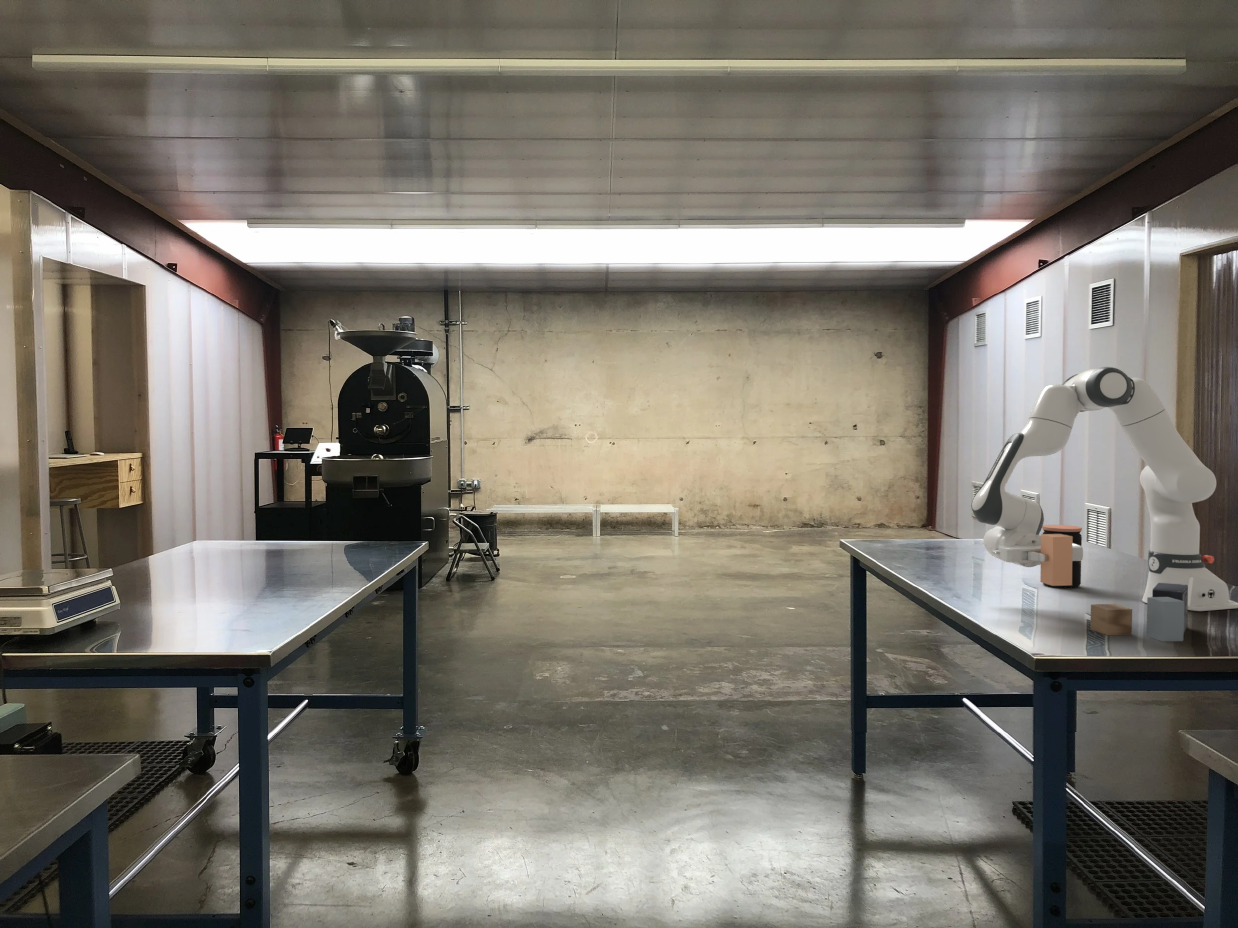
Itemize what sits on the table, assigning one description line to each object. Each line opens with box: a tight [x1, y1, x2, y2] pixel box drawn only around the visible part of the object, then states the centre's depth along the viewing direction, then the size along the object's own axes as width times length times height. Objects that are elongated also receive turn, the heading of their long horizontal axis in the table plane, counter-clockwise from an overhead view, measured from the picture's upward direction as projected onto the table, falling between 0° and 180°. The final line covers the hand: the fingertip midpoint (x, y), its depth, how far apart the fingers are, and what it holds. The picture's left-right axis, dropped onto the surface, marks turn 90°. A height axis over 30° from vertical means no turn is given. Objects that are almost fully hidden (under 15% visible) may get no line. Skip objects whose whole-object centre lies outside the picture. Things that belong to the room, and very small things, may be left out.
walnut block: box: [1090, 603, 1133, 636], centre depth 195 cm, size 6×6×6 cm
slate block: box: [1146, 597, 1185, 643], centre depth 189 cm, size 5×5×9 cm
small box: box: [1152, 583, 1189, 634], centre depth 197 cm, size 11×6×10 cm, turn 141°
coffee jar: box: [1042, 524, 1083, 590], centre depth 252 cm, size 11×11×18 cm
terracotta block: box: [1039, 533, 1073, 586], centre depth 205 cm, size 5×5×12 cm
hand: (1058, 557), depth 204 cm, fingers closed on terracotta block, 5 cm apart
